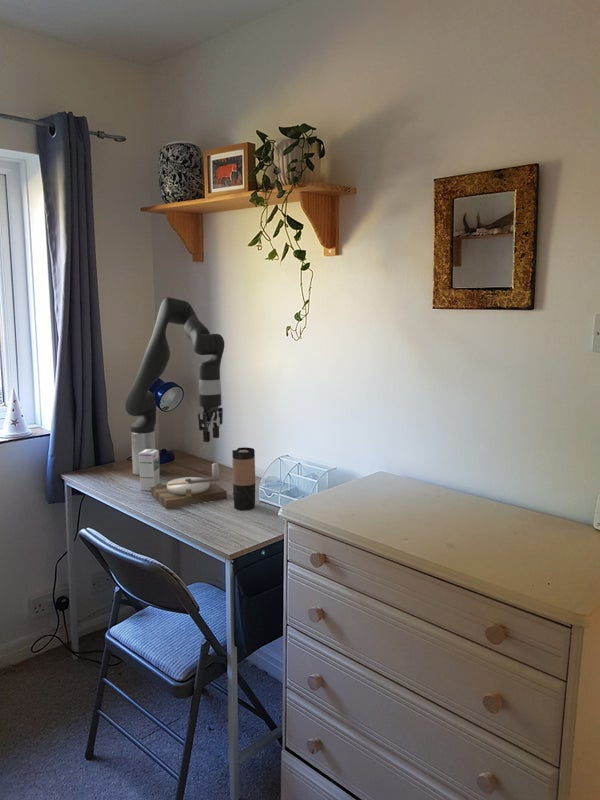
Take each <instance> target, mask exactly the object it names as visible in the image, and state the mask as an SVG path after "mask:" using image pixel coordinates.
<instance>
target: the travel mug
mask: <svg viewBox="0 0 600 800" xmlns="http://www.w3.org/2000/svg"><path fill="white" fill-rule="evenodd" d="M255 452H256V451H255V449H254V448H253V447H246V446H244V447H237V449H232V454H231V455H232V491H233V492H232V493H233V509H236V510H237V511H250V510H253V509H255V508H256V455H255Z"/></svg>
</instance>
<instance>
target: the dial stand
mask: <svg viewBox="0 0 600 800" xmlns="http://www.w3.org/2000/svg"><path fill="white" fill-rule="evenodd" d="M150 494H151V496H152V497H153V498H154V499H155V500H156V501H157V502H158V503H159V504H160V505H161V506H162V507H164V509H166V510H168V509H175V508H182V507H186V506H185V505H188V506H192V505H191V504H194V505H199V504H198V503H200V504H205V503H204V502H207V503H211V502H210V501H213V502H218V501H217V500H219V501H224V499H225V500H227V499H228V498H227V497H228V496H227V495H228V494H227V490H226V489H225V488H223V487H221V486H220V485H219V484H217V483H215V481H209V489H208V490H207V491H205V492H202V493H198V494H191V489H186V495H178V494H172V493H170V492H168V491H167V484H163V485H162V484H161V486H154V487H151V491H150ZM181 506H182V507H181Z"/></svg>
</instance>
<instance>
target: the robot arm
mask: <svg viewBox="0 0 600 800" xmlns="http://www.w3.org/2000/svg"><path fill="white" fill-rule="evenodd" d="M194 310H195V309H194V308H193V306H192V305H191V304H190V302H188V301H187V300H183V299H178V298H174V297H169V296H166V297H165V298H164V299H163V300H162V301H161V304H160V307H159V310H158V312H157V317H156V321H155V324H154V327H153V331H152V334H151V338H150V340H149V342H148V345H147V347H146V349H145V352H144V354H143V355H144V356H143V357H142V361H141V365H140V367H139V369H138V372H137V375H136V377H135V380H134V382H133V383H132V386H131V387H130V390H129V392H128V394H127V396H126V398H125V411H126V412H127V414H128V415H129V416H131V417H137V419H136V420H135V421H134V422H133V423H132V424H131V426H130V436H131V437H130V438H131V439H130V440H131V458H132V461H131V462H132V474H133V475H135V476H140V470H139V454H138V453H140V452H142V451H144V450H145V449H155V450H156V438H155V437H156V436H155V434H156V433H155V427H156V423H157V401H156V397H155V395H154V394H153V392H151V391H149V390H150V389H151V387H152V386H153V384H155V382H157V380H158V379H159V378H160V377H161V376H162V375H163V373H164V372H165V371H166V368H167V366H168V364H169V360H170V357H171V352H170V351H171V350H170V346H169V343H168V340H167V333H166V332H167V327H168V324H174V325H182V326H184V327H183V330H184V333H185V335H186V336H187V338H188V339H189V340H190V342H191V343H192V348H193V351H194V353H196V354H197V355H199V356H210V355H211V356H210V358H209V360H206V361H202V362H201V363H199V365H198V374H199V376H198V377H199V378H198V379H199V380H198V381H199V382H198V394H199V396H198V399H199V406H200V407H202V408H203V409H202V413H201V412H199V413H198V414H197V416H198V417H197V418H198V428H199V431H202V433H203V434H202V435H203V436H202V438H203V440H202V441H203V442H204V443H209V442H210V441H211V433H210V432H211V431H210V429H211V426H212V437H213V438H214V439H218V438H220V427H221V425H223V417H224V416H223V413H224V411H223V410H224V409H223V407H221V406H222V385H221V384H222V383H221V362H222V358H223V353H224V349H225V340H224V338H223V336H222V335H221V334H219V333H210V331H209V328H207V326H205V325H204V323H202V322H201V320H200V319H199V318H198V315H197V314H196V312H195V311H194Z"/></svg>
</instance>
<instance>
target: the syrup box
mask: <svg viewBox="0 0 600 800" xmlns="http://www.w3.org/2000/svg"><path fill="white" fill-rule="evenodd" d="M138 454H139V470H140V475H139V484H140V485H139V486H140V490H141V491H145V490H147V491H148V492H149V491H150V492H151V487H154V486H161V485H162V482H161V480H162V479H161V468H160V467H161V465H160V463H161V462H160V450H159V449H156V448H155V449H145V450H144V451H142V452H140V453H138ZM147 491H146V492H147Z"/></svg>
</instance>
